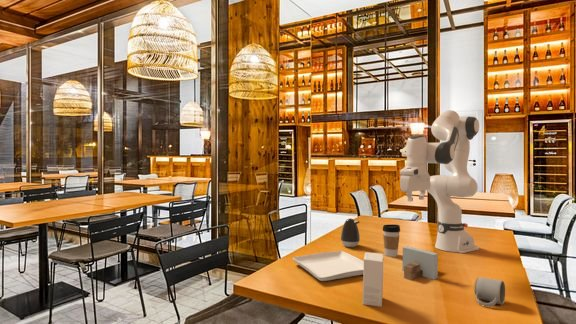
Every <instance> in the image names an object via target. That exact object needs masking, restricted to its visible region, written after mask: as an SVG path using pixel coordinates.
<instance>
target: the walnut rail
mask: <svg viewBox="0 0 576 324" xmlns="http://www.w3.org/2000/svg"><path fill="white" fill-rule="evenodd" d="M421 276H423V270H420V264H417V263H414V262H413V263H410V264H408V265H405V266H404V271H403V278H404V279H406V280H409V281H412V280H414V279H417V278H419V277H421Z"/></svg>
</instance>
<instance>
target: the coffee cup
mask: <svg viewBox="0 0 576 324" xmlns="http://www.w3.org/2000/svg"><path fill="white" fill-rule="evenodd" d="M400 226H401V225H399V224H383V226H382V231H383V247H384V248H383V249H384V255H385V256H386V257H391V258H394V257H398V253H399V251H398V250H399V245H400V244H399V243H400V232H401V227H400Z"/></svg>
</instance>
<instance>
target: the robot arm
mask: <svg viewBox="0 0 576 324" xmlns="http://www.w3.org/2000/svg"><path fill="white" fill-rule="evenodd" d="M430 130H431V134H432V135H433V137H434V138H435V139H437V140H439V142H427V138H426V135H423V134H416V135H410V136H409V137H407V141H406V149H405V151H406V153H405V154H406V155H405V156H406V162H405V166H403V168H402V169H400V170H399V175H400V178H399V179H400V182H399V186H400V187H399V189H400V191H401V192H403V193H404V192H405V195H406V197H407V201H408V202H413V201H414V197H413V196H412V194H413V192H418V191H419V192H420V194H419V195H418V200H421V201H423V200H425V195H426V193H428V194H430V195H431V196H432V197H433V199H434V201H435V202H436V205H437V209H438V211H437V213H438V221H437V234H436V241H435V245H434V248H436V249H437V250H440V251H441V250H442V251H444V252H453V253H459V254H466V253H470V252H475V251H478V250H480V247H479V246H478V245H476V244H475V239H474V237H473V236H472V235H471V234H470V233H469V232H468V231H466V230H465V228H468V227H469V225H468V223H465V222H463V223H462V217H463V216H462V214H463V213H462V208H461V207H460V205H459V204H457V203H455V202H454V201H453V200H452V197H456V198H469V197H474V196H475V195H476V194H477V192H478V188H479V187H478V183H477V181H476V179H475V178H474V177H473V176H471V175H470V174H469V172H468V161H469V156H470V149H471V146H470V145H471V144H470V141H471V140H473V139H474V137H475V136H476V135H477V134H478V133H479V131H480V122H479V119H477V117H476V116H460V115H459V113H457V111H455V110H453V109H450V110H445V111H444V112H442V113H441V114H440V115H438V116H437V118H436V119H435V120H434V121H433V122H432V124H431V128H430ZM440 141H442V142H440ZM428 164H440V165H444V168H445V169H446V170H447V171H448V172H451V173H452V174H451V175H442V174H437V175H430V174H429V172H428V169H427V168H428V167H427V166H428ZM426 191H427V192H426Z"/></svg>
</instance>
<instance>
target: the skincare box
mask: <svg viewBox="0 0 576 324" xmlns="http://www.w3.org/2000/svg"><path fill="white" fill-rule="evenodd" d="M363 261H364V269H363V274H362V275H363V277H362V305H365V306H371V307H372V306H373V307H380V308H381V307H383V292H384V291H383V290H384V254H383V253H378V252H368V251H367V252H364V256H363Z"/></svg>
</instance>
